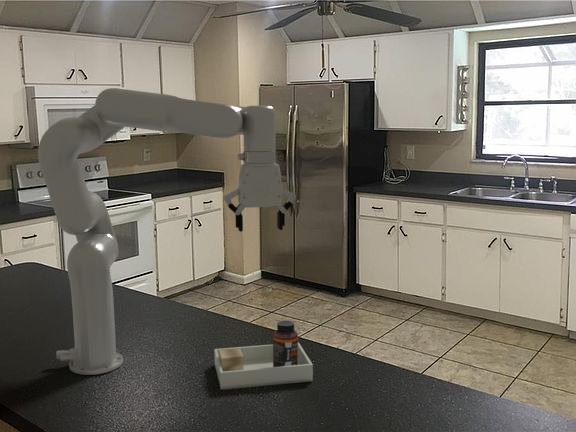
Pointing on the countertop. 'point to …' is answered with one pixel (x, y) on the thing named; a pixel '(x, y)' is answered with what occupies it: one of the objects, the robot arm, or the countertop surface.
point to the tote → (263, 369)
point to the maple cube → (231, 359)
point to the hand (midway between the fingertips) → (260, 229)
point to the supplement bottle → (285, 345)
